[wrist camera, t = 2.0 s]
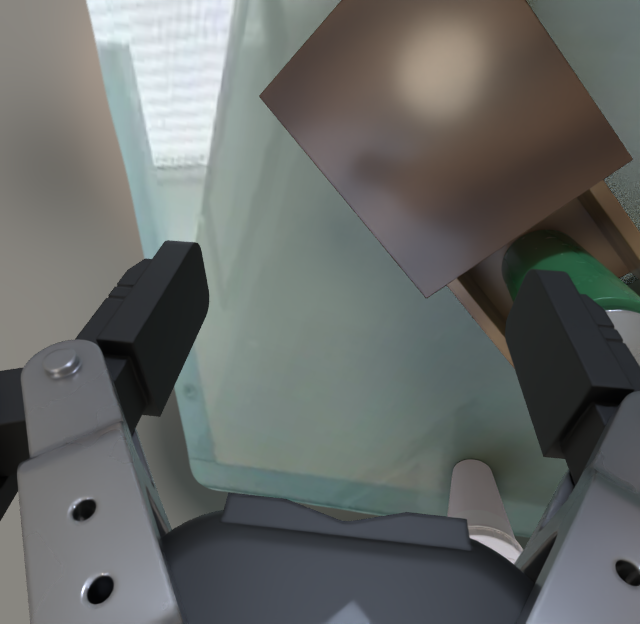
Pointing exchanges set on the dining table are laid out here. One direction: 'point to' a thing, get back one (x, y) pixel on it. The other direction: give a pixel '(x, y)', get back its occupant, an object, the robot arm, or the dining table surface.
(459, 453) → the dining table surface
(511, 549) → the smoothie
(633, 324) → the green can
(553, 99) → the cabinet
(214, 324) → the dining table surface
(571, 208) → the drawer
